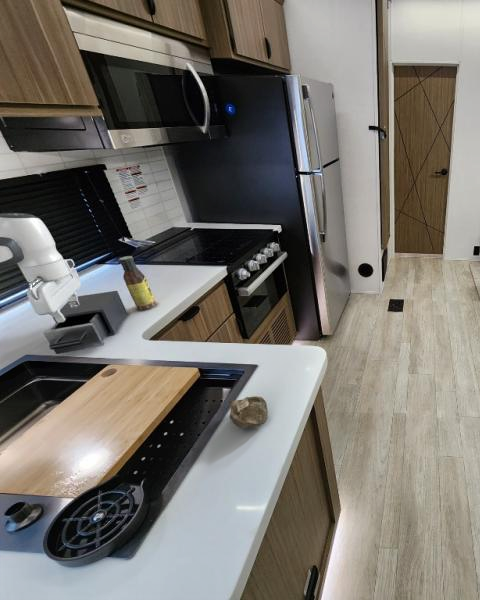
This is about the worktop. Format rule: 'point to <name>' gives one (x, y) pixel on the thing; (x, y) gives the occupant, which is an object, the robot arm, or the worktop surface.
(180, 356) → the worktop surface
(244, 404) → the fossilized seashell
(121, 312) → the gray drawer cabinet
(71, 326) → the drawer
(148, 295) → the sauce bottle
